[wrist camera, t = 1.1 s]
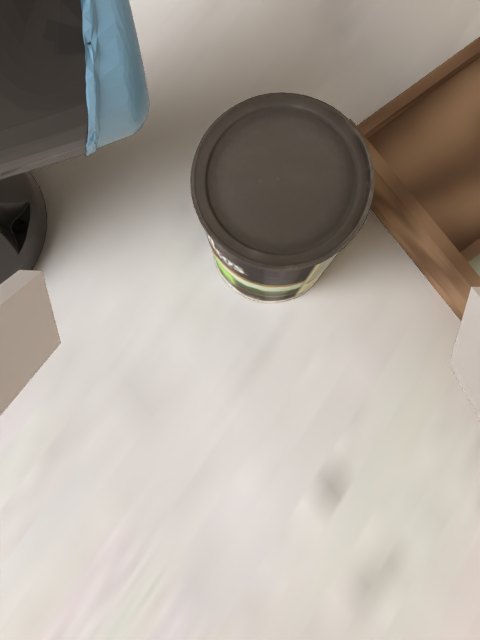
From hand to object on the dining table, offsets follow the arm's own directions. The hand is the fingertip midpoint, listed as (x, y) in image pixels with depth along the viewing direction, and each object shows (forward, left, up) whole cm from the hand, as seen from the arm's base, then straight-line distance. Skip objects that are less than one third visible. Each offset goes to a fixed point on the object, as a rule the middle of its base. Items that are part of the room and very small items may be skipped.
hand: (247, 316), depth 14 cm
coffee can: (-6, +7, -24) cm, 26 cm away
